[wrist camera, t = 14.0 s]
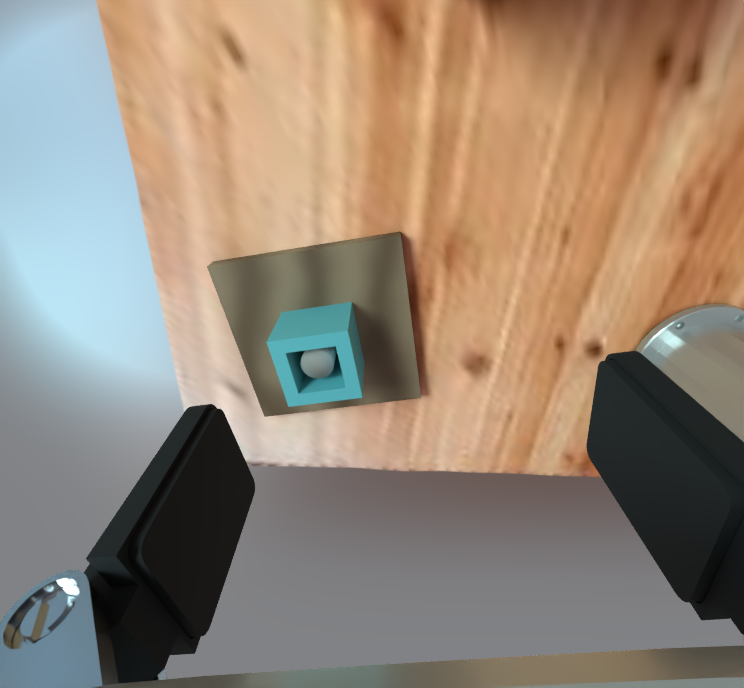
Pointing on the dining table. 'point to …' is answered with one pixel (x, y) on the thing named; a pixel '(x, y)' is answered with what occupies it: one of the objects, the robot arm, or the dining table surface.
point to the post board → (315, 289)
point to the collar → (315, 333)
